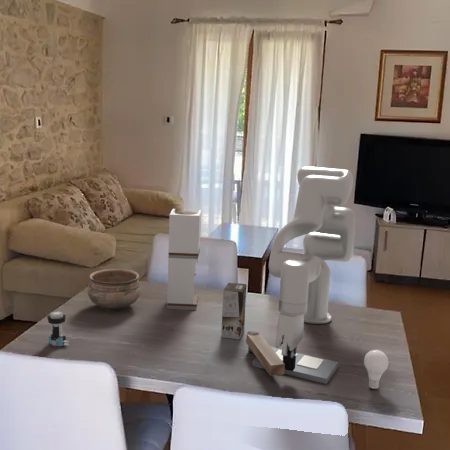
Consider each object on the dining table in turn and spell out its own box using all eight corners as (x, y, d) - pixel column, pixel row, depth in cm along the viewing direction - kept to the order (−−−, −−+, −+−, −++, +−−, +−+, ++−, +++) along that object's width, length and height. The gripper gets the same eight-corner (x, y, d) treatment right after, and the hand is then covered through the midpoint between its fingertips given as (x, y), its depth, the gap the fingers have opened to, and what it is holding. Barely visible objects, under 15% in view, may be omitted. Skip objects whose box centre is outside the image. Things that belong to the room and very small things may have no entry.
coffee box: (240, 339, 185) (242, 292, 182) (220, 337, 186) (222, 289, 183) (244, 329, 194) (247, 283, 191) (226, 327, 195) (228, 281, 192)
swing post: (249, 349, 178) (250, 341, 178) (256, 350, 177) (257, 342, 177) (246, 352, 176) (247, 343, 176) (254, 353, 175) (254, 345, 175)
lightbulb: (358, 382, 159) (361, 345, 157) (380, 382, 160) (384, 345, 158) (365, 394, 153) (369, 355, 151) (388, 394, 154) (393, 355, 151)
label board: (267, 350, 178) (267, 345, 177) (337, 367, 169) (338, 361, 168) (252, 365, 167) (252, 359, 167) (326, 383, 158) (326, 377, 158)
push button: (73, 343, 177) (72, 312, 175) (63, 350, 172) (62, 318, 170) (54, 339, 179) (54, 309, 177) (44, 346, 174) (43, 314, 172)
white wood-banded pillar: (196, 309, 210) (199, 215, 203) (167, 308, 210) (169, 214, 203) (198, 299, 221) (201, 210, 214) (170, 298, 222) (172, 208, 214)
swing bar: (256, 339, 178) (257, 330, 178) (284, 374, 156) (284, 364, 155) (244, 340, 177) (244, 331, 177) (270, 375, 155) (270, 365, 154)
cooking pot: (110, 293, 223) (110, 263, 221) (153, 301, 217) (154, 270, 214) (71, 314, 201) (71, 280, 198) (118, 323, 194) (118, 289, 191)
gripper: (288, 295, 163) (284, 355, 167) (269, 312, 149) (265, 376, 153) (314, 300, 160) (309, 361, 164) (297, 317, 146) (292, 383, 150)
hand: (288, 368), depth 158 cm, fingers closed
